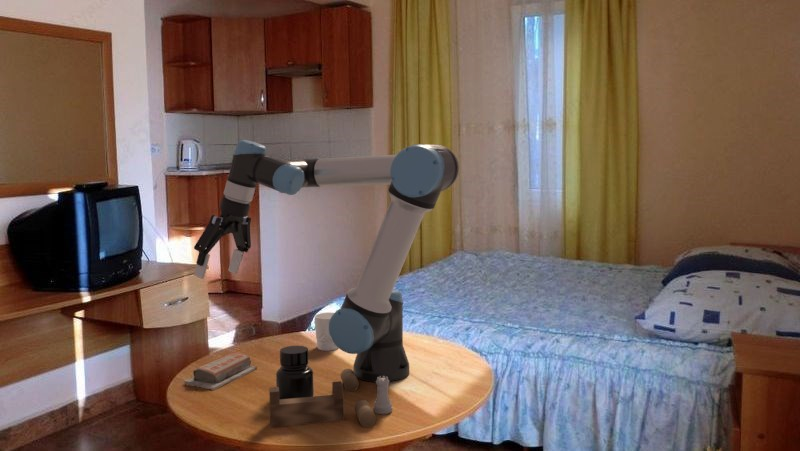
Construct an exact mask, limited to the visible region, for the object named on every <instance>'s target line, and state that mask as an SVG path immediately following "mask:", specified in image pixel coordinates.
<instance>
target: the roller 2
mask: <svg viewBox="0 0 800 451" xmlns="http://www.w3.org/2000/svg"><path fill="white" fill-rule="evenodd" d="M354 412H355V415H356V416H357V418H358V422H359V423H360V426H362V427H364V428H371V427H373V426H374V425H375V423H376V421H377V416H376V413H375V412H374V410H373V409H372V407H371V405H370V403H369V402H368V401H367V400H366V399H361V400H358V401H357V402H356V403H355V404H354Z"/></svg>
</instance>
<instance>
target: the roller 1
mask: <svg viewBox="0 0 800 451" xmlns="http://www.w3.org/2000/svg"><path fill="white" fill-rule="evenodd" d="M340 379H341V382H342V385H343V387H344V388H345V390H346V391H348V392H354V391H356V390H358V388H359V384H360V382H359V381H358V378H357V377H356V376H355V374H354V372H353V369H351V368H345V369H343V370H342V371H341V373H340Z"/></svg>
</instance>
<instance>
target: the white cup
mask: <svg viewBox="0 0 800 451" xmlns="http://www.w3.org/2000/svg"><path fill="white" fill-rule="evenodd" d="M334 313H335V312H319V313H317V314H315V315H314V326H315V338H316V339H315V340H316V348H317V349H318V350H320V351H327V352H328V351H329V352H331V351H335V350H338V349H339V348H338V347H337V346H336V345H335V344H334V342H333V341H332V338H331V336H330V334H329V321H330V319H331V317H332V315H333V314H334Z"/></svg>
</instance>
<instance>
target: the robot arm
mask: <svg viewBox="0 0 800 451" xmlns="http://www.w3.org/2000/svg"><path fill="white" fill-rule="evenodd" d="M266 151H267V148H266V146H265V145H263V144H262V143H258V142H255V141H252V140H249V139H240V140H239V141H238V142H237V143H236V147H235V150H234V153H233V154H232V159H231V164H230V168H229V173H228V176H227V178H226V182H225V187H224V190H223V196H222V197H221V201H220V204H219V207H218V208H219V210H220V215H219V216H216V215H214V214H212V215H211V217H210V219H209V221H208V224H206V225H207V226H206V227H205V229H203V230H204V231H203V232H202V233H201V235H200V237H199V238H198V240H197V242H196V243H195V245H194V246H193V249H194V250H196V251H197V252H198V255H197V259H196V261H195V262H196V265H195V269H194V273H193V276H195V277H197V278H200V279H201V280H202V279H203V280H204V279H205V275H206V271H207V268H208V264H209V260H210V257H211V254H209V253H210V252H211V251H212V249H213V248H214V247H215V245H217V243H218V242H219V241H220V240H221V239H222V237H225V236H227V235H229V234H232V236H233V241H234V243H235V246H236V248H233V252H232V255H231V259H230V261H229V262H230V263H229V266H228V270H227V271H228V272H230V273H232V274H234V275H238V273H239V269H240V265H241V262H242V260H243V256H244V253H248V252H249V249H250V250H251V247H252V242H251V241H252V240H251V222H252V217H250V216H248V215H249V211H250V208H251V202H252V201H253V199H254V195H255V192H256V186H257V184H258V185H261V186H265V187H267V188H269V189H272V190H275V191H277V192H279V193H280V194H285V195H286V194H287V195H289V196H294V195H297V193H298V192H300V191H301V189H302V188H320V187H321V188H323V187H347V186H350V187H351V186H353V187H354V186H380V185H381V186H383V185H385V186H386V185H387V186H388V185H389V188H388V189H387V193H388V194H389V197H390V202H389V204H388V207H387V210H386V212H385V214H384V217H383V219H382V222H381V224H380V226H379V228H378V231H377V235H376V237H375V240H374V241H373V244H372V246H371V249H370V251H369V255H368V257H367V259H366V262H365V264H364V267H363V269H362V271H361V274H360V276H359V279H358V281H357V284H356V286H354V287H352V288H350V289H348V290H347V292H346V294H345V297H344V300H343V301H342V305H341V307H340V308H338V309H336V311H335V312H333V313H334V314H333V315H332V317H331V319H330V321H329V334H330V336H331V338H332V341H333V342H334V344H335V345H336V346H337V347H338V349H339V350H340V351H341V352H344V353H347V354H352V355H355V354H356V356H355V360H354V363H353V368H352V371H353V372H354V374H355V376H356V378H357V379H359V380H362V381H366V382H371V383H376V380H377V377H379V376H381V378H383V376H385V378H386V376H387V377H388V380H389V381H390V382H394V380H396V381H399V379H400V380H401V379H402V380H403V379H405V378H406V377H408V376H409V375H410V362H409V359H408V357H407V354H406V351H405V347H404V344H403V343H404V341H403V339H404V338H403V337H404V336H403V335H404V334H403V333H404V330H403V328H404V327H403V326H404V323H403V322H404V321H403V320H404V318H403V317H404V315H403V312H404V310H403V306H404V301H403V295H402V294H403V293H402V292H401V291H400V290H397V289H394V288H395V286H396V283H397V280H398V278H399V276H400V274H401V271H402V268H403V266H404V264H405V261H406V260H407V257H408V255H409V252H410V250H411V248H412V245H413V243H414V239H415V238H416V235H417V233H418V230H419V228H420V225H421V223H422V220H423V218H424V216H425V214H426V213H428V212H431V211H433V210H434V208H435V206H436V204H437V201H438V200H439V197H440V195H441V192H443V191H447V190H448V189H449V188H451V187H452V186H453V185H454V183H455V182H456V181H457V178H458V175H459V173H460V172H459V170H460V166H459V161H458V158H457V157H456V155H455V153H454V152H453V151H452V150H451V149H450V148H448V147H446V146H444V145H441V144H426V143H415V144H412V145H409V146H406V147H405V148H403V149H401V150H400V151H399V152H398V153H397V154H390V155H389V154H388V155H387V154H386V155H371V156H349V157H348V156H347V157H331V158H305V159H286V160H282V159H277V158H276V157H275V158H274V157H272V156H269V155H267V154H266V153H267V152H266Z"/></svg>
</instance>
